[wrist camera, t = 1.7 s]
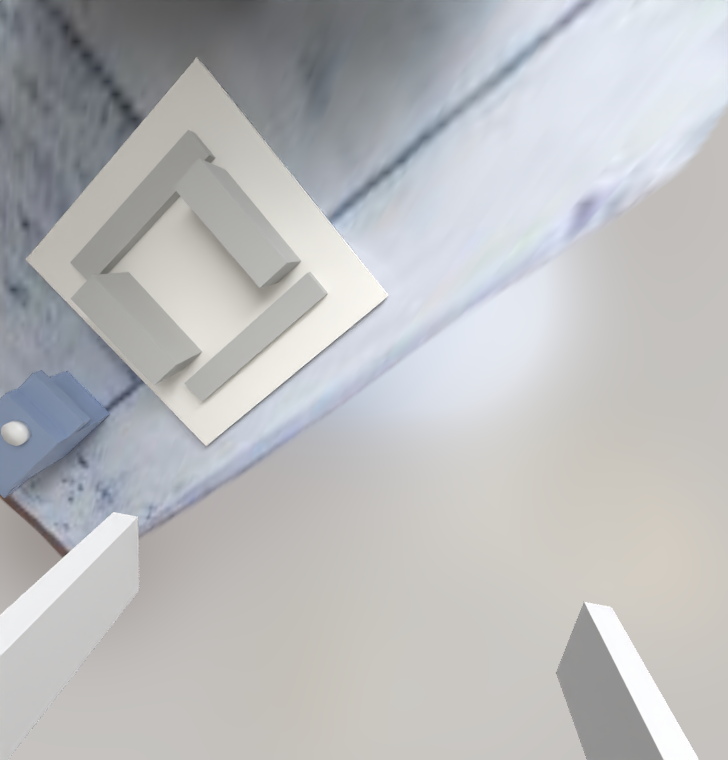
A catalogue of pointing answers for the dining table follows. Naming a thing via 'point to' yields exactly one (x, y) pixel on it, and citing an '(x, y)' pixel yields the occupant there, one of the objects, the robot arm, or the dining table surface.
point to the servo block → (43, 425)
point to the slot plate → (205, 260)
